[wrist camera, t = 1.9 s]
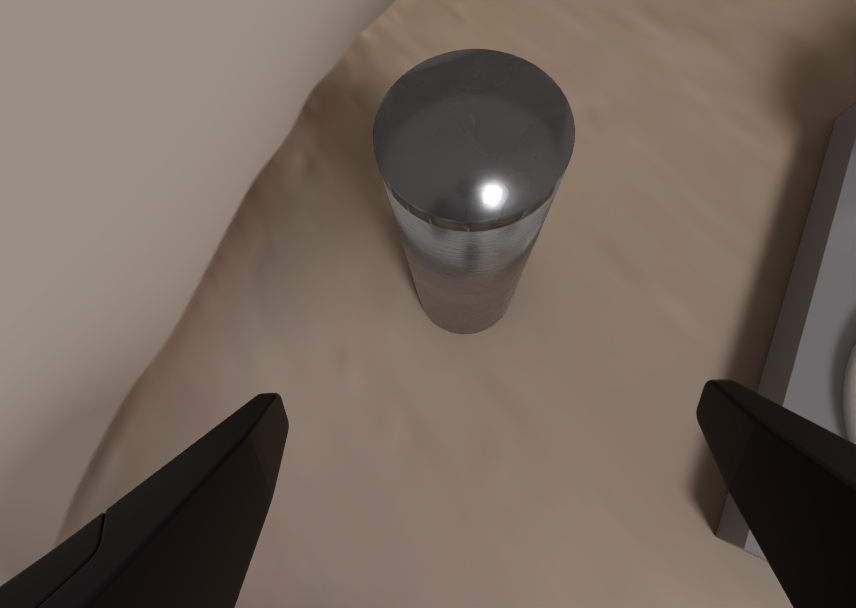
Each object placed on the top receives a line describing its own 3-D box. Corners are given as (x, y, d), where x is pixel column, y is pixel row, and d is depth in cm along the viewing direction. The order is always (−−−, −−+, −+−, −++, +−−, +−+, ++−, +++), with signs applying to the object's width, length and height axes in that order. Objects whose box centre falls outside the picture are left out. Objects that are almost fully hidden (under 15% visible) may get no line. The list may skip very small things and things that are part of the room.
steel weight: (488, 349, 22) (528, 252, 10) (402, 310, 23) (338, 175, 11) (525, 266, 23) (604, 84, 11) (442, 232, 24) (425, 27, 12)
